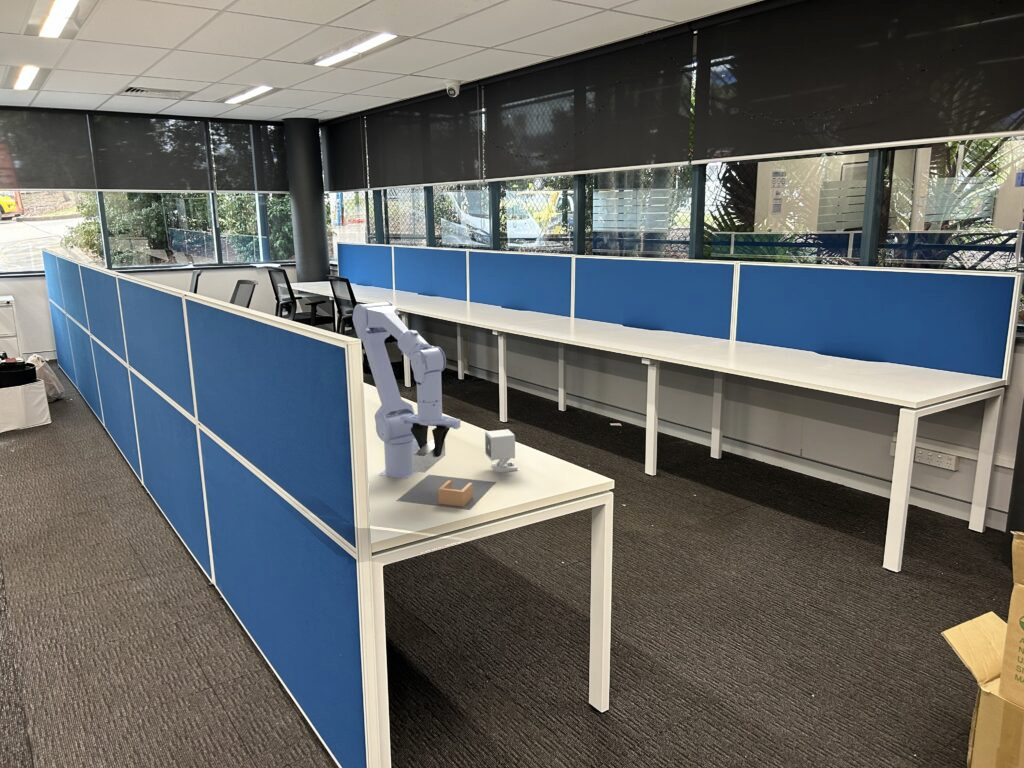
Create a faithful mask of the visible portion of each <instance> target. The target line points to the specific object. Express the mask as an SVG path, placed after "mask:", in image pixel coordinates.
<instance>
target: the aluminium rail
mask: <svg viewBox="0 0 1024 768" xmlns="http://www.w3.org/2000/svg"><path fill="white" fill-rule="evenodd" d="M445 456H446V441H445V440H444V443H443V447H442V452H441V455H440V456H439V457H435V444H434V438H432V439H431V440H429V442H428V441H427V444H426V445H425V446H423V447H422V448H421V449H419V450H418V451H417V452H415V453H414V454H413V455H412V461H413V471H414V472H415V473H416V472H417V473H426V472H428V471H429V470H430V469H431V468H433V467H434V466H435V465H436V464H437V463H438V462H439V461H441V460H442V459H443V458H444V457H445Z"/></svg>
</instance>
